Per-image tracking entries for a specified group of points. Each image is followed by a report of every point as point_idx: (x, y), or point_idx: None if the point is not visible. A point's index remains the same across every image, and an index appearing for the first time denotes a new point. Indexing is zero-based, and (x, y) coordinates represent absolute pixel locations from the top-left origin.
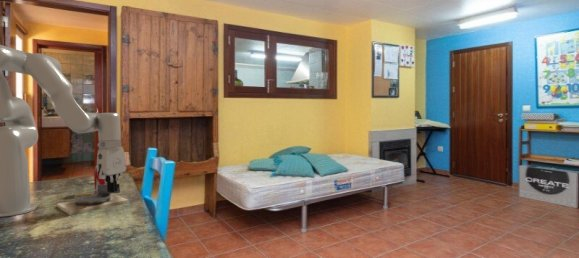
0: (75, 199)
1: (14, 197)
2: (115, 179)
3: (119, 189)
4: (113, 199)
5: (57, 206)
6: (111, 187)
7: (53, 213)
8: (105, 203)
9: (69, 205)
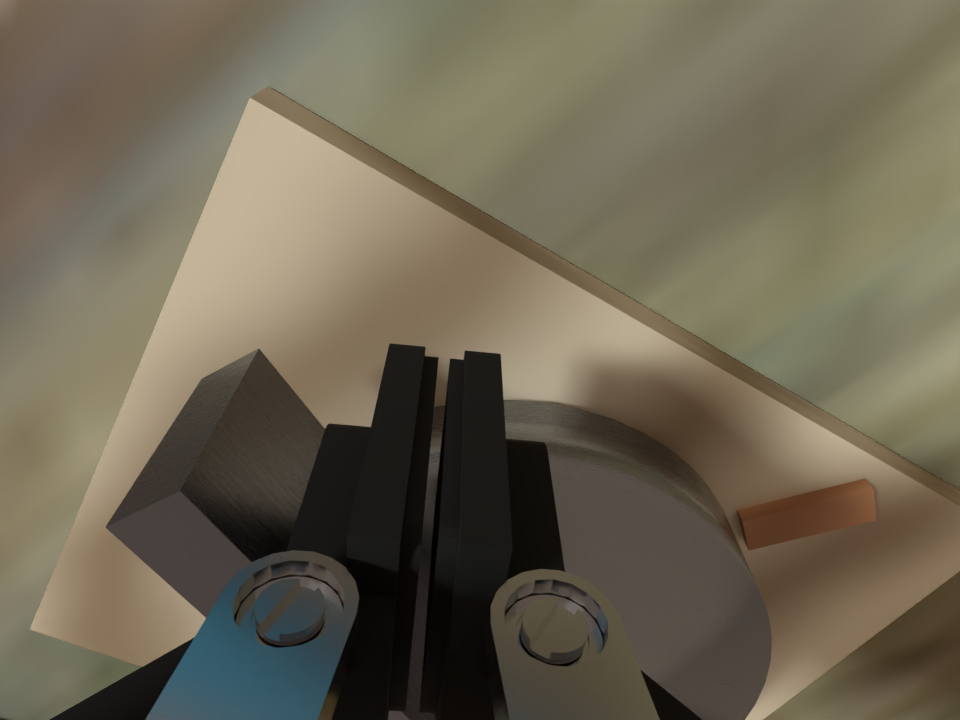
0: None
1: None
2: (352, 636)
3: (233, 394)
4: (316, 400)
5: None
6: (524, 478)
7: (857, 686)
8: (572, 361)
9: None
